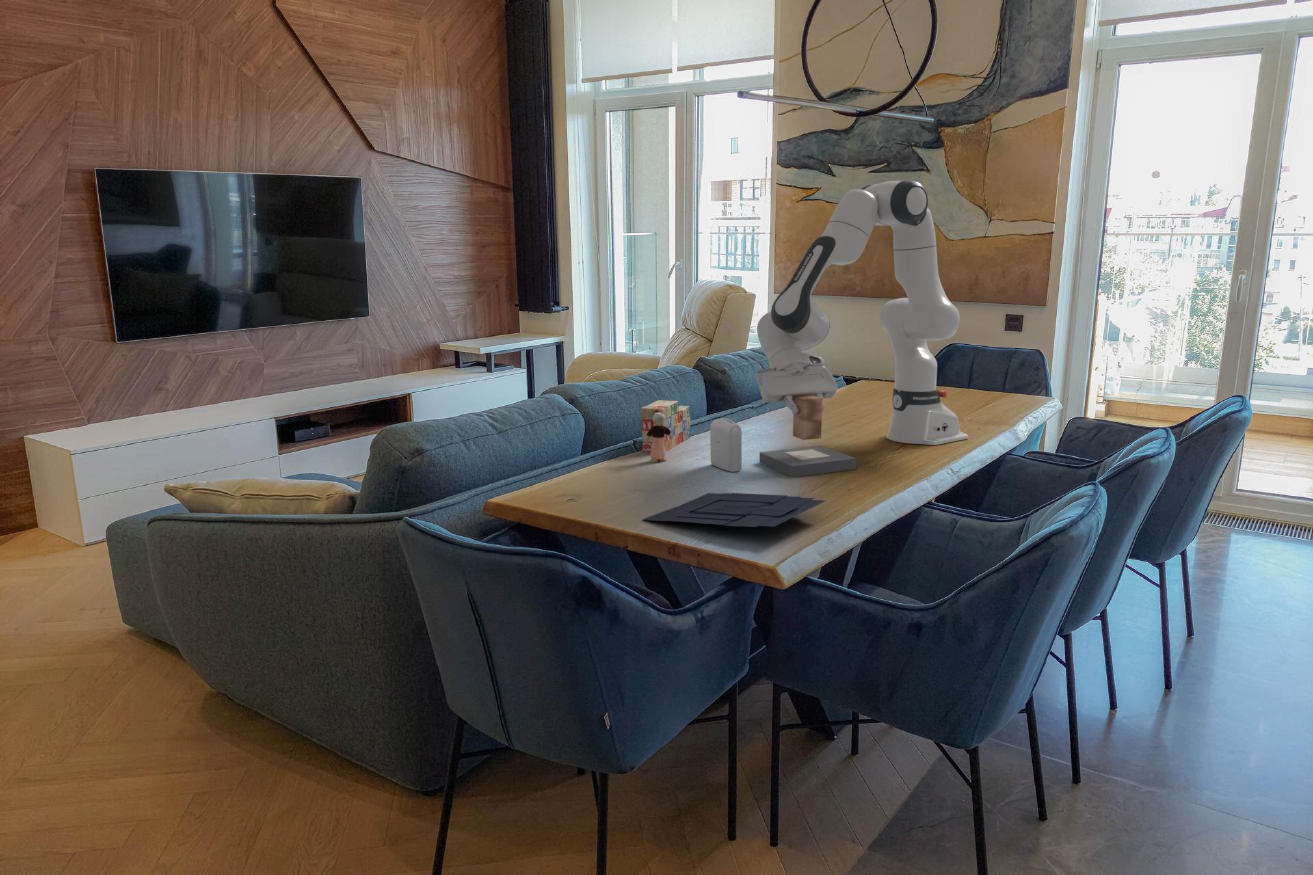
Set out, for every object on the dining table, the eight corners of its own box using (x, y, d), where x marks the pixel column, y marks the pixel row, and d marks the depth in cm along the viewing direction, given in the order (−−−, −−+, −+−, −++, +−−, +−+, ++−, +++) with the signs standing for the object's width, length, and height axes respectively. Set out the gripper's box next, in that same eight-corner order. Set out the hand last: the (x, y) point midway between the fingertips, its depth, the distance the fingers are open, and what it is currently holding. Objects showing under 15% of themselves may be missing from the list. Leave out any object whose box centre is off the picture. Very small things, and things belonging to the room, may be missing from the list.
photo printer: (708, 464, 224) (707, 416, 221) (722, 462, 226) (722, 414, 223) (728, 473, 215) (728, 423, 212) (744, 471, 217) (744, 421, 214)
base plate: (820, 455, 231) (820, 444, 231) (856, 469, 217) (856, 457, 216) (759, 462, 225) (759, 451, 224) (792, 477, 210) (792, 464, 210)
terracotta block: (810, 434, 222) (811, 395, 220) (821, 438, 218) (822, 398, 216) (792, 436, 221) (793, 396, 219) (803, 440, 216) (804, 399, 214)
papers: (770, 543, 160) (768, 524, 160) (642, 532, 179) (640, 515, 178) (832, 511, 179) (831, 494, 178) (710, 504, 198) (708, 488, 197)
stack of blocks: (670, 436, 258) (670, 394, 256) (690, 437, 256) (690, 395, 254) (641, 452, 239) (640, 407, 237) (663, 453, 237) (662, 408, 234)
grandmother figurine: (651, 464, 225) (650, 415, 222) (643, 461, 228) (642, 412, 225) (676, 459, 229) (675, 411, 226) (667, 457, 232) (667, 409, 230)
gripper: (757, 362, 218) (776, 407, 211) (828, 357, 225) (849, 401, 219) (748, 377, 223) (767, 422, 216) (818, 373, 230) (838, 416, 224)
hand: (809, 412), depth 217 cm, fingers closed on terracotta block, 5 cm apart
